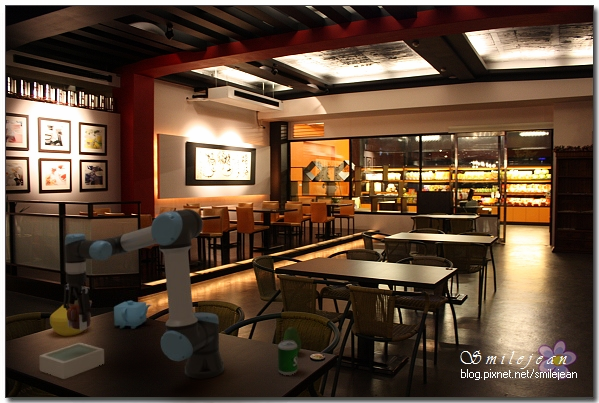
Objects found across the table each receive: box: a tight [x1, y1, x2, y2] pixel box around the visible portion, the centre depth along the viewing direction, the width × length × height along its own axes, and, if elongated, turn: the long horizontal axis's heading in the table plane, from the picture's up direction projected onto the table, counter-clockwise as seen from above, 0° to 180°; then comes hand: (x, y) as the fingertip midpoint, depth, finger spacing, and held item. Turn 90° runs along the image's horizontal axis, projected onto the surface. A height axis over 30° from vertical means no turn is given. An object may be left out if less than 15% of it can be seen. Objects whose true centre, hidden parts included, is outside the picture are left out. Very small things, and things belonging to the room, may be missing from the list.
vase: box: [49, 304, 92, 337], centre depth 247 cm, size 18×18×19 cm
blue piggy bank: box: [113, 300, 152, 329], centre depth 257 cm, size 18×16×13 cm
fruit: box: [282, 326, 302, 354], centre depth 215 cm, size 8×8×12 cm
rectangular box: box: [38, 342, 105, 380], centre depth 203 cm, size 16×18×6 cm
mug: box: [67, 300, 93, 329], centre depth 203 cm, size 12×9×10 cm
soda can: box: [277, 340, 298, 376], centre depth 196 cm, size 8×8×12 cm
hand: (77, 327), depth 203 cm, fingers closed on mug, 7 cm apart
